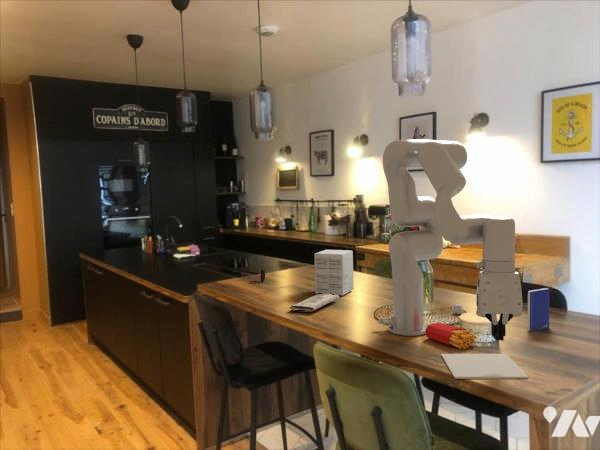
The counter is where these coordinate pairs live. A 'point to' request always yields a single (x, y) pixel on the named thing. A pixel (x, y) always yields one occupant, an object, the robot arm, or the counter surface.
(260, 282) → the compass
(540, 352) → the counter surface
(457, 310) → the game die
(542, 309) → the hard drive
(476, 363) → the mat
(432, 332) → the french fries
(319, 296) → the newspaper
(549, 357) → the counter surface
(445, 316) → the counter surface
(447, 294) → the counter surface
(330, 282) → the supplement box
